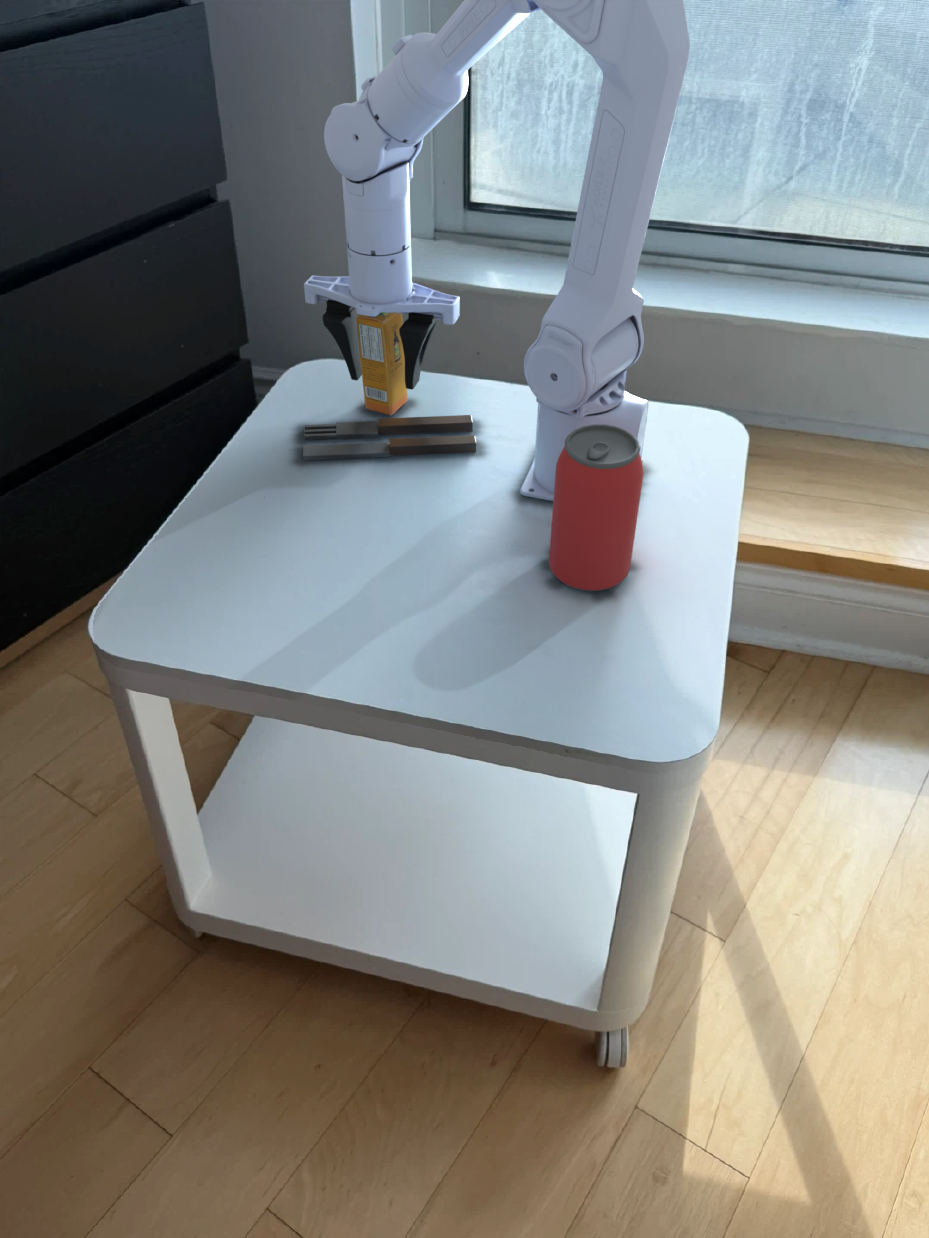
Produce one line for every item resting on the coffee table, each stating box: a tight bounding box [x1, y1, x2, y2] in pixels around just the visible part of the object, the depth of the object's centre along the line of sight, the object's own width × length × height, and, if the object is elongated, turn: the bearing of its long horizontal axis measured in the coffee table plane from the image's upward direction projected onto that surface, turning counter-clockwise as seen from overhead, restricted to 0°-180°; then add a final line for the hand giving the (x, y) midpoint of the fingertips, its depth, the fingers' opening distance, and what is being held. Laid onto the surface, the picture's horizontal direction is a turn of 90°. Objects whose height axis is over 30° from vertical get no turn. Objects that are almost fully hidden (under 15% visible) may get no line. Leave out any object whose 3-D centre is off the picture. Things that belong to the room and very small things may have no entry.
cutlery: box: [302, 414, 477, 461], centre depth 101 cm, size 16×6×1 cm, turn 95°
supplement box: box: [356, 313, 409, 416], centre depth 102 cm, size 3×3×10 cm
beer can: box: [548, 424, 645, 592], centre depth 83 cm, size 7×7×12 cm
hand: (385, 379), depth 104 cm, fingers open, 5 cm apart
